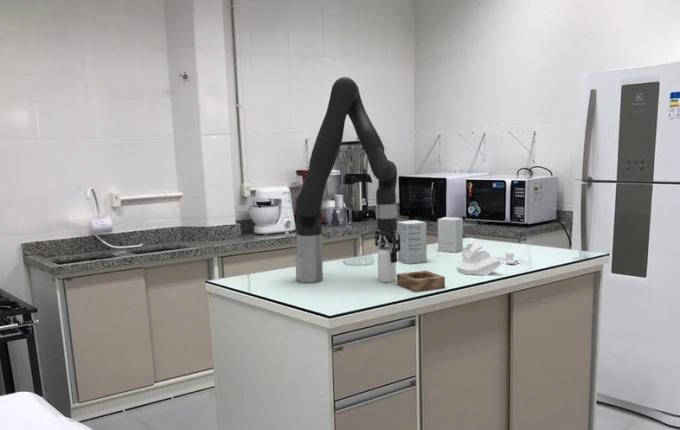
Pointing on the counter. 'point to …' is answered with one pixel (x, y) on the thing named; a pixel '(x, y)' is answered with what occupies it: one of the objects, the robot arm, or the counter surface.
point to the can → (386, 266)
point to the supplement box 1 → (412, 241)
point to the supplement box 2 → (450, 234)
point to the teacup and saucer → (509, 258)
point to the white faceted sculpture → (477, 260)
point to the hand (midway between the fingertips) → (387, 260)
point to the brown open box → (420, 281)
